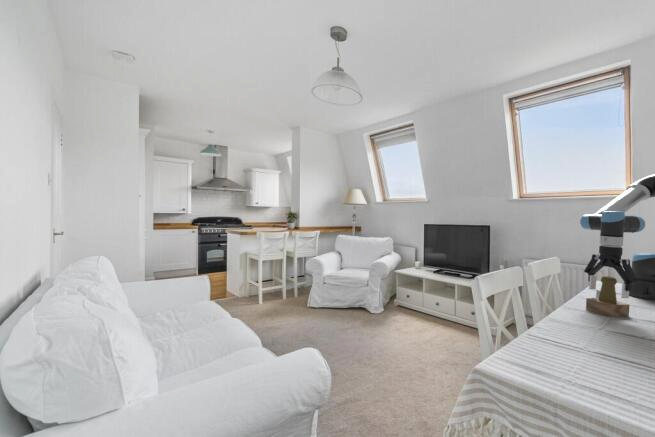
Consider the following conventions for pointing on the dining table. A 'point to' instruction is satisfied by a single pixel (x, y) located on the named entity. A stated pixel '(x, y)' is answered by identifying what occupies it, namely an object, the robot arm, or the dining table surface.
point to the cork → (608, 290)
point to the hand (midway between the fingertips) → (607, 293)
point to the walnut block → (607, 307)
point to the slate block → (597, 293)
